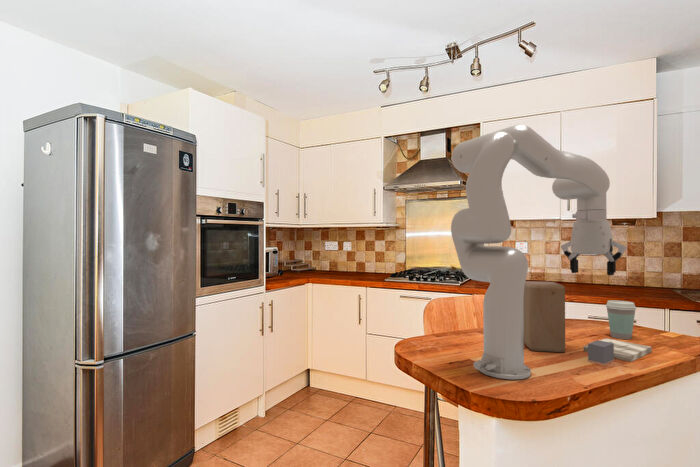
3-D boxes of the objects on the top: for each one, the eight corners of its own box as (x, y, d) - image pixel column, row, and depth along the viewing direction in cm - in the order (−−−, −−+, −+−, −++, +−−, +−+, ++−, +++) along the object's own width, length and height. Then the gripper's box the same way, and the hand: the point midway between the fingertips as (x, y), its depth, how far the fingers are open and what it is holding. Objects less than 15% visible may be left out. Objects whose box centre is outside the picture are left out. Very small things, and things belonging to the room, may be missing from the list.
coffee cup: (635, 336, 132) (635, 301, 132) (637, 341, 125) (637, 305, 125) (605, 332, 136) (605, 299, 137) (606, 338, 129) (606, 302, 129)
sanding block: (604, 365, 102) (604, 346, 102) (588, 361, 105) (588, 343, 105) (613, 361, 105) (613, 343, 105) (597, 357, 108) (597, 340, 108)
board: (630, 361, 104) (630, 356, 104) (583, 351, 114) (583, 346, 114) (651, 351, 114) (651, 346, 114) (606, 342, 123) (606, 338, 124)
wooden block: (566, 353, 112) (566, 285, 112) (530, 351, 114) (529, 284, 114) (555, 344, 122) (555, 281, 122) (521, 342, 124) (521, 280, 124)
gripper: (555, 217, 119) (556, 272, 119) (620, 215, 105) (621, 277, 105) (566, 218, 124) (567, 271, 124) (630, 215, 110) (631, 275, 110)
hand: (592, 273), depth 114 cm, fingers open, 9 cm apart
